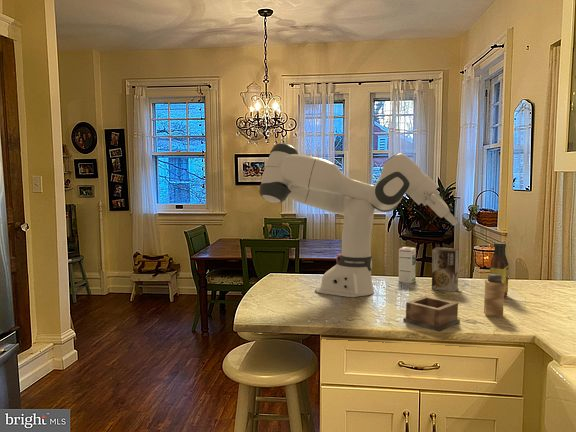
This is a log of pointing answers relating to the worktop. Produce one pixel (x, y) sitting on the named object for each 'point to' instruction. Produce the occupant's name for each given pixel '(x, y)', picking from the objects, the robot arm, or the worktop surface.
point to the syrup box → (407, 264)
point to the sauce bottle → (500, 264)
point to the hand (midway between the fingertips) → (455, 222)
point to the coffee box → (445, 268)
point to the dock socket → (432, 313)
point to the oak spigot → (494, 296)
